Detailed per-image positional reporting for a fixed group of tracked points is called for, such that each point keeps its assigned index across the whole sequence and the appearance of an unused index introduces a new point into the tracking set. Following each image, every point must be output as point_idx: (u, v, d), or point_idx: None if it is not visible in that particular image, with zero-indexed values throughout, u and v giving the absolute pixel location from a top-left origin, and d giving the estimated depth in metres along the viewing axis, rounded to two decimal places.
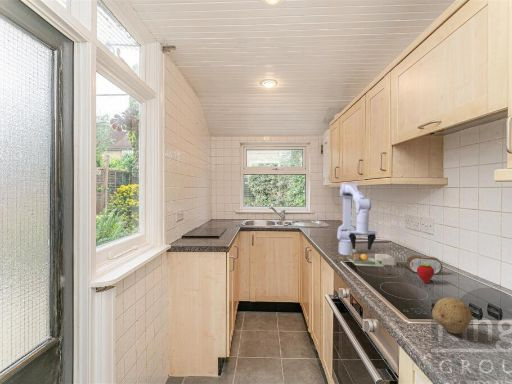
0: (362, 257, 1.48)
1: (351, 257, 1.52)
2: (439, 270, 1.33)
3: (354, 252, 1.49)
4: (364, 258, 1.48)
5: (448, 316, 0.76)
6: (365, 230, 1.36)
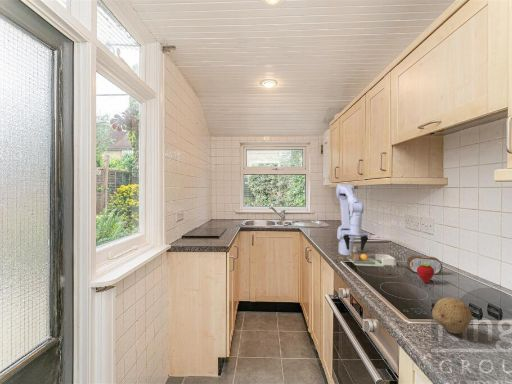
0: (362, 257, 1.48)
1: (351, 257, 1.52)
2: (439, 270, 1.33)
3: (354, 252, 1.49)
4: (364, 258, 1.48)
5: (448, 316, 0.76)
6: (358, 232, 1.47)
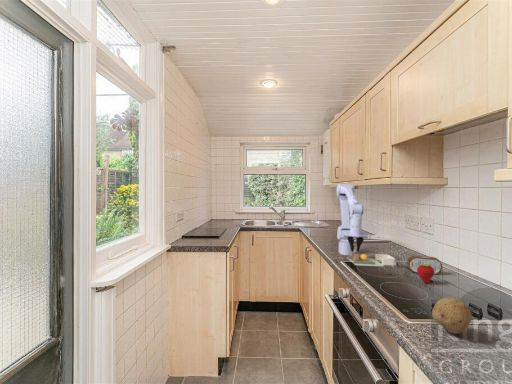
0: (362, 257, 1.48)
1: (351, 257, 1.52)
2: (439, 270, 1.33)
3: (354, 252, 1.49)
4: (364, 258, 1.48)
5: (448, 316, 0.76)
6: (358, 233, 1.47)
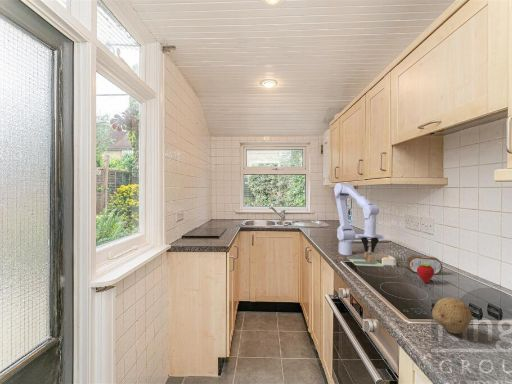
0: None
1: (365, 258, 1.52)
2: (439, 270, 1.33)
3: (368, 253, 1.48)
4: None
5: (448, 316, 0.76)
6: (373, 234, 1.46)
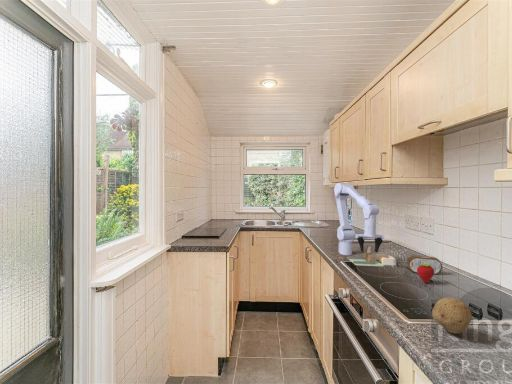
0: None
1: (365, 258, 1.52)
2: (439, 270, 1.33)
3: (368, 253, 1.48)
4: None
5: (448, 316, 0.76)
6: (373, 234, 1.46)
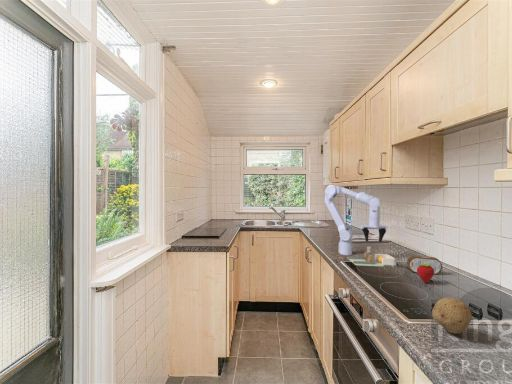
0: None
1: (365, 258, 1.52)
2: (439, 270, 1.33)
3: (368, 253, 1.48)
4: None
5: (448, 316, 0.76)
6: (377, 224, 1.57)
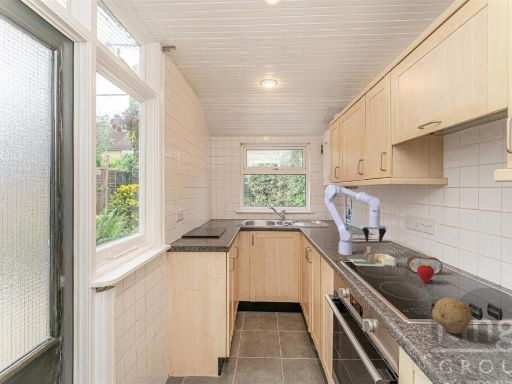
0: None
1: (365, 258, 1.52)
2: (439, 270, 1.33)
3: (368, 253, 1.48)
4: None
5: (448, 316, 0.76)
6: (377, 224, 1.57)
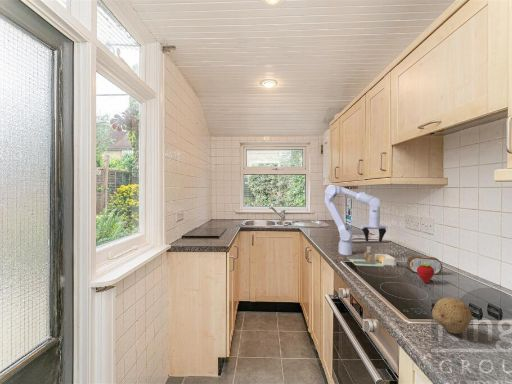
0: None
1: (365, 258, 1.52)
2: (439, 270, 1.33)
3: (368, 253, 1.48)
4: None
5: (448, 316, 0.76)
6: (377, 224, 1.57)
